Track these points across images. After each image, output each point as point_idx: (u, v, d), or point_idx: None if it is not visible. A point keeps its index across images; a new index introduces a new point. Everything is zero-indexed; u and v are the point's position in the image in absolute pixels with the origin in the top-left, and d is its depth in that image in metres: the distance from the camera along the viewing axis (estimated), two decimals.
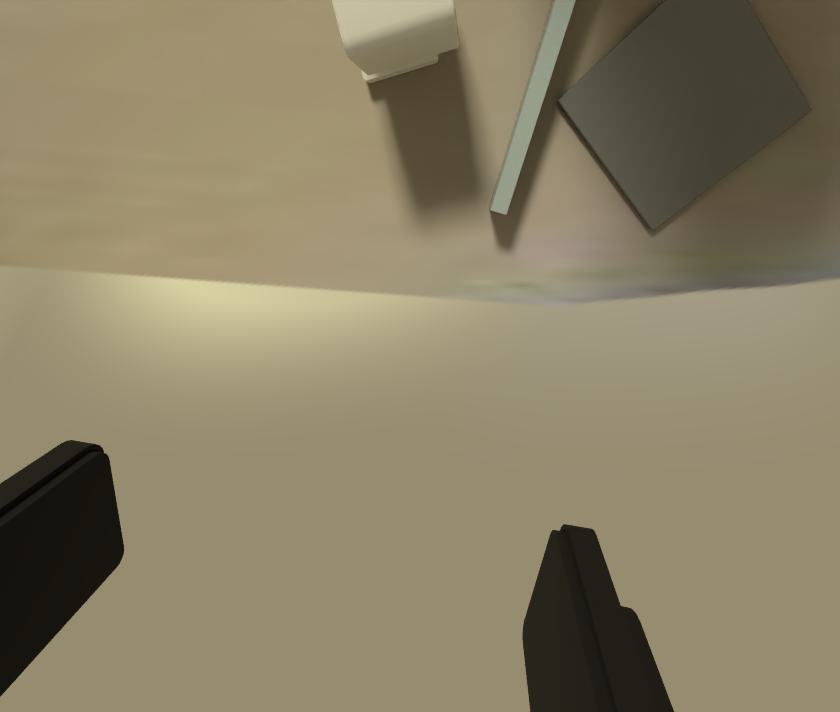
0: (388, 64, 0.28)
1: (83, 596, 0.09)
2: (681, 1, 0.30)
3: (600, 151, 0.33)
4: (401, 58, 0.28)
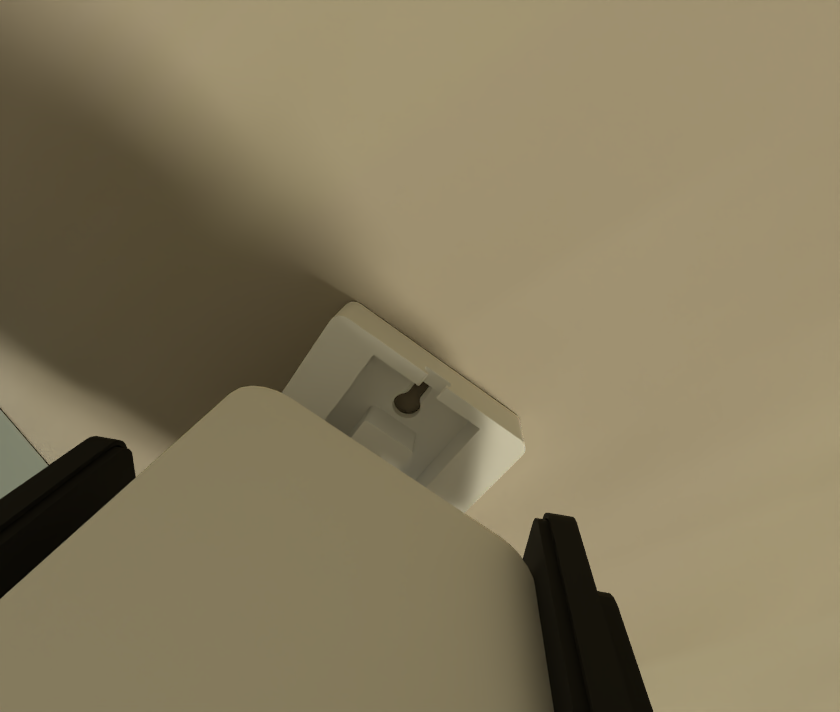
0: None
1: None
2: None
3: None
4: None
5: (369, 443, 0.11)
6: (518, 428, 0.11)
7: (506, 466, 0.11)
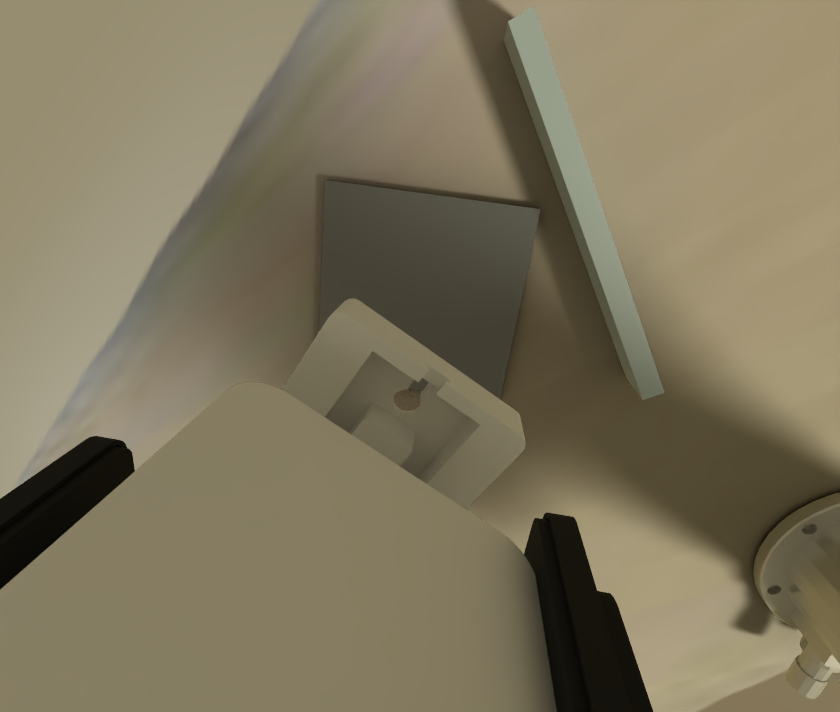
0: None
1: None
2: (496, 359, 0.28)
3: (453, 202, 0.25)
4: None
5: (369, 440, 0.11)
6: (519, 424, 0.11)
7: (507, 463, 0.11)
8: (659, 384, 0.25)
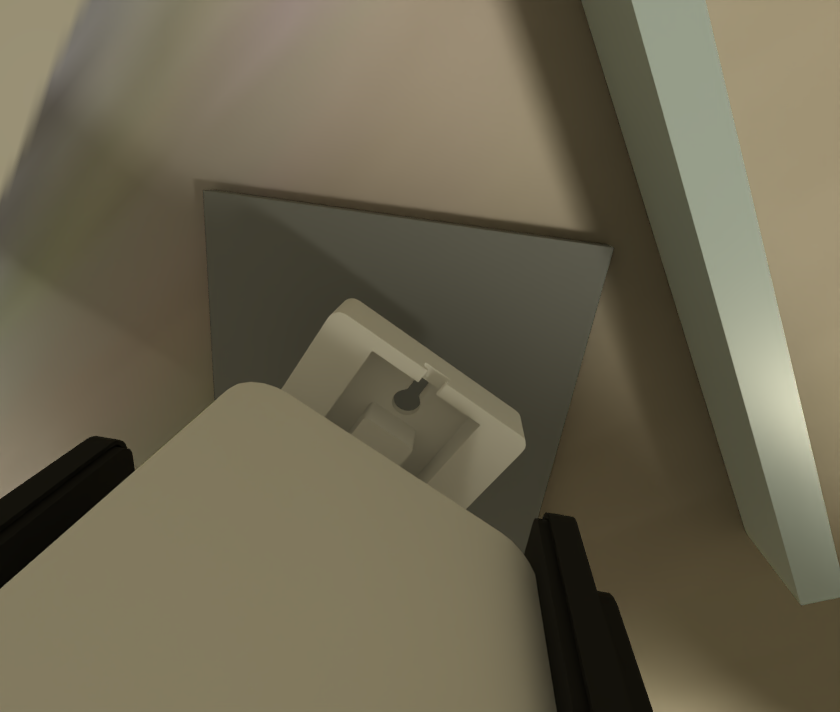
0: None
1: None
2: (520, 500, 0.16)
3: (444, 233, 0.13)
4: None
5: (369, 440, 0.11)
6: (519, 423, 0.11)
7: (507, 462, 0.11)
8: (838, 581, 0.13)
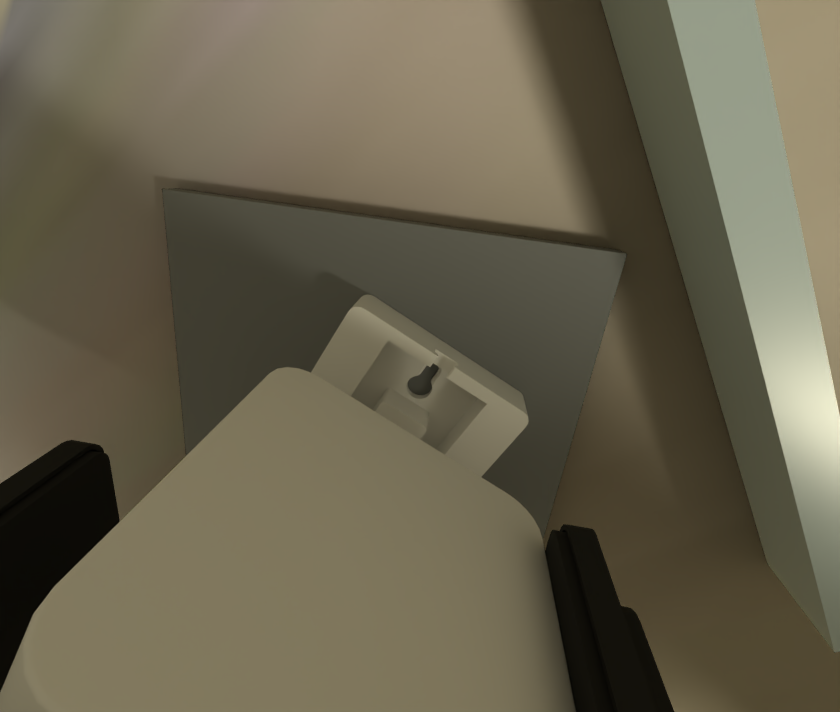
0: None
1: None
2: None
3: (435, 237, 0.12)
4: None
5: None
6: (521, 402, 0.12)
7: (512, 437, 0.12)
8: None
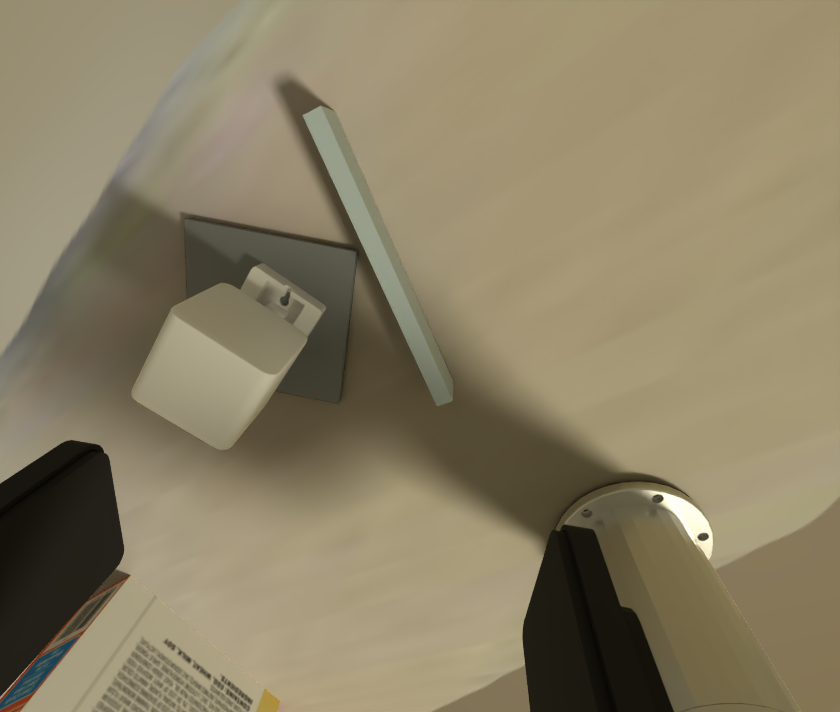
0: None
1: (83, 596, 0.09)
2: (332, 368, 0.35)
3: (287, 242, 0.31)
4: None
5: None
6: (321, 307, 0.32)
7: (316, 319, 0.32)
8: (447, 394, 0.32)
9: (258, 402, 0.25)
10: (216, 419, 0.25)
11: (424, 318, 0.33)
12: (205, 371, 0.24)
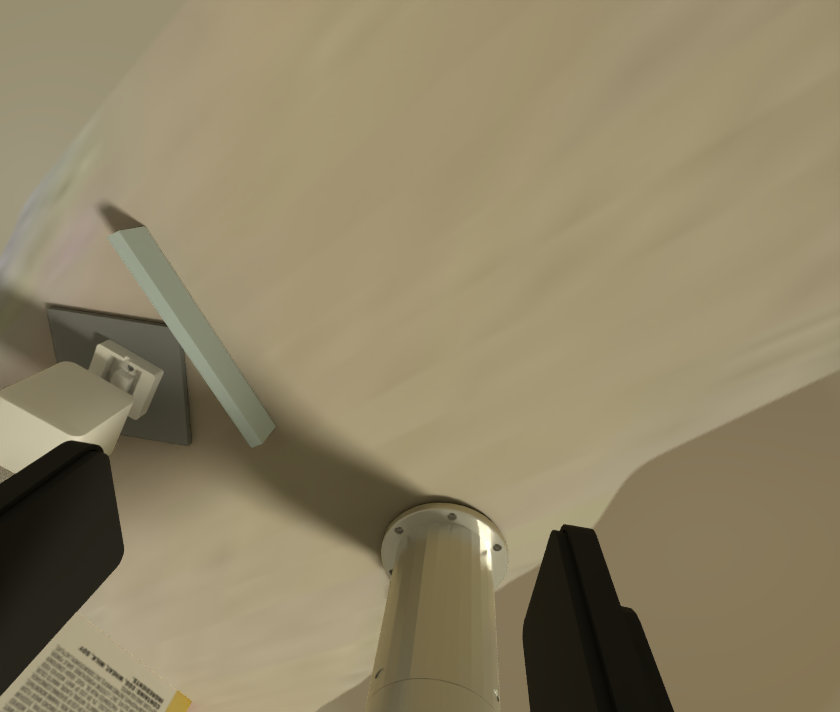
0: None
1: (83, 596, 0.09)
2: (178, 418, 0.43)
3: (125, 323, 0.40)
4: None
5: (116, 378, 0.40)
6: (156, 372, 0.40)
7: (152, 382, 0.40)
8: (257, 438, 0.40)
9: None
10: None
11: (240, 377, 0.41)
12: (29, 435, 0.32)
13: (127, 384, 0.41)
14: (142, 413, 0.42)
